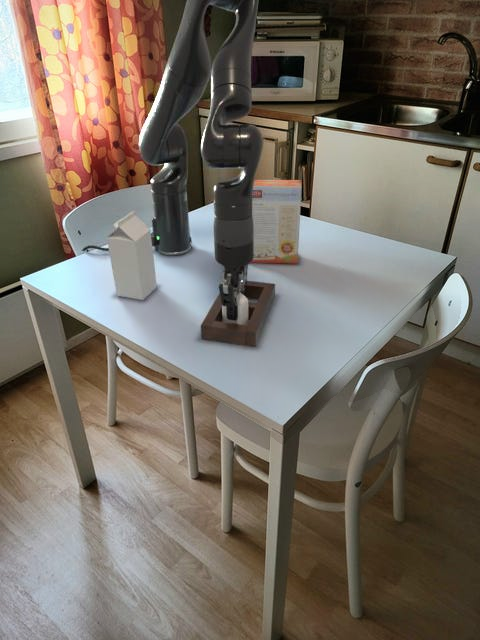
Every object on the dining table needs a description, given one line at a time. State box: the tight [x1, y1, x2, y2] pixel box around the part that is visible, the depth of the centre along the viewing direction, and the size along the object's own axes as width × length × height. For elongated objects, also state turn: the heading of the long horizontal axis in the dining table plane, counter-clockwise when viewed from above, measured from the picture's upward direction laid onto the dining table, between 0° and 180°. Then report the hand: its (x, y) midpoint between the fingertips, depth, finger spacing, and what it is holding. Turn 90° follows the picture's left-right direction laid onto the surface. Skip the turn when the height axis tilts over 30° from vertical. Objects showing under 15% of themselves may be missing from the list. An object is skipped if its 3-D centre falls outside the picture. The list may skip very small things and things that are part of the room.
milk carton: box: [106, 210, 158, 301], centre depth 111 cm, size 7×7×19 cm
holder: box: [200, 280, 276, 348], centre depth 105 cm, size 11×21×4 cm, turn 166°
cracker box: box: [250, 179, 303, 265], centre depth 124 cm, size 14×6×21 cm, turn 84°
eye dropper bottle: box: [222, 288, 249, 326], centre depth 99 cm, size 4×6×12 cm
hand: (235, 313), depth 100 cm, fingers closed on eye dropper bottle, 4 cm apart
